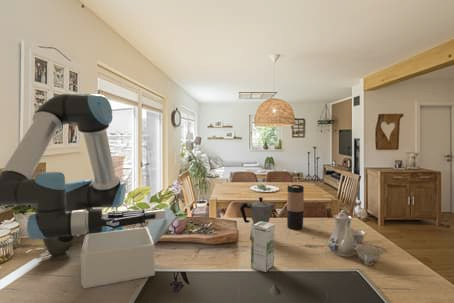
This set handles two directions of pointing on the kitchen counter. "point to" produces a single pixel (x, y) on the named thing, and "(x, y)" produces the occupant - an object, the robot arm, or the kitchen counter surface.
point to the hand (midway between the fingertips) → (164, 214)
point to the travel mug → (295, 207)
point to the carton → (117, 257)
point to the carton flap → (161, 224)
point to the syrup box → (262, 246)
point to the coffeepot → (258, 212)
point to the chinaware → (351, 241)
